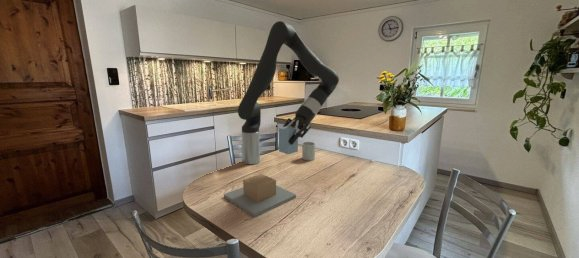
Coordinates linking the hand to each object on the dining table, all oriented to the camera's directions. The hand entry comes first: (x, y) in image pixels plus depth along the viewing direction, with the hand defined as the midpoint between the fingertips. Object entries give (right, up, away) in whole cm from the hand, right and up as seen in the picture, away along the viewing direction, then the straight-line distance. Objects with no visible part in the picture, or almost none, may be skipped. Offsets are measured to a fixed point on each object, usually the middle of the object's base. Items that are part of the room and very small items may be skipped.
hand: (285, 141), depth 103 cm
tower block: (+1, -4, +2) cm, 5 cm away
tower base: (-10, -22, -4) cm, 24 cm away
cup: (+13, -12, +43) cm, 46 cm away
